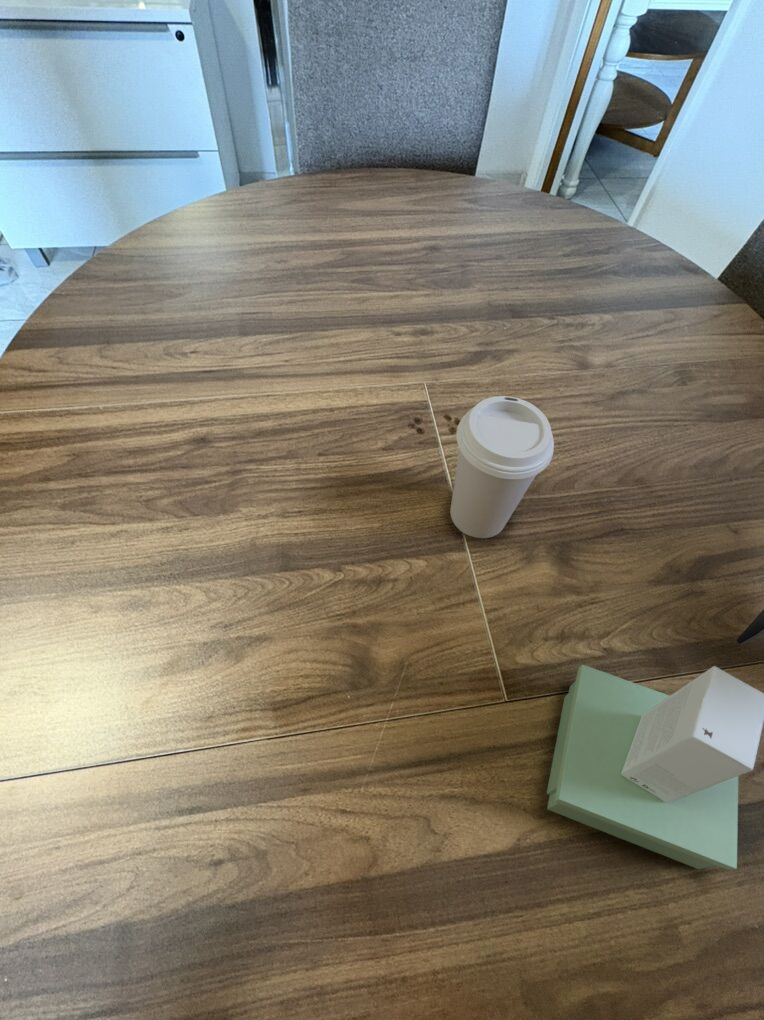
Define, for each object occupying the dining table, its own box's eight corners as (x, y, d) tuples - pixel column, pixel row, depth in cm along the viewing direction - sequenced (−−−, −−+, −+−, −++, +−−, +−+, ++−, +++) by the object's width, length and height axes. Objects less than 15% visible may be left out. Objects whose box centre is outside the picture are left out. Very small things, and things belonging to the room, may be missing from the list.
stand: (710, 735, 58) (739, 720, 54) (704, 874, 51) (737, 869, 47) (564, 682, 60) (582, 664, 56) (540, 809, 53) (558, 799, 49)
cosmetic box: (668, 805, 49) (754, 774, 39) (618, 775, 50) (689, 736, 40) (688, 740, 52) (772, 695, 43) (641, 712, 53) (712, 662, 44)
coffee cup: (532, 504, 72) (574, 416, 59) (498, 564, 67) (537, 481, 54) (459, 469, 74) (485, 376, 62) (422, 524, 69) (442, 435, 57)
